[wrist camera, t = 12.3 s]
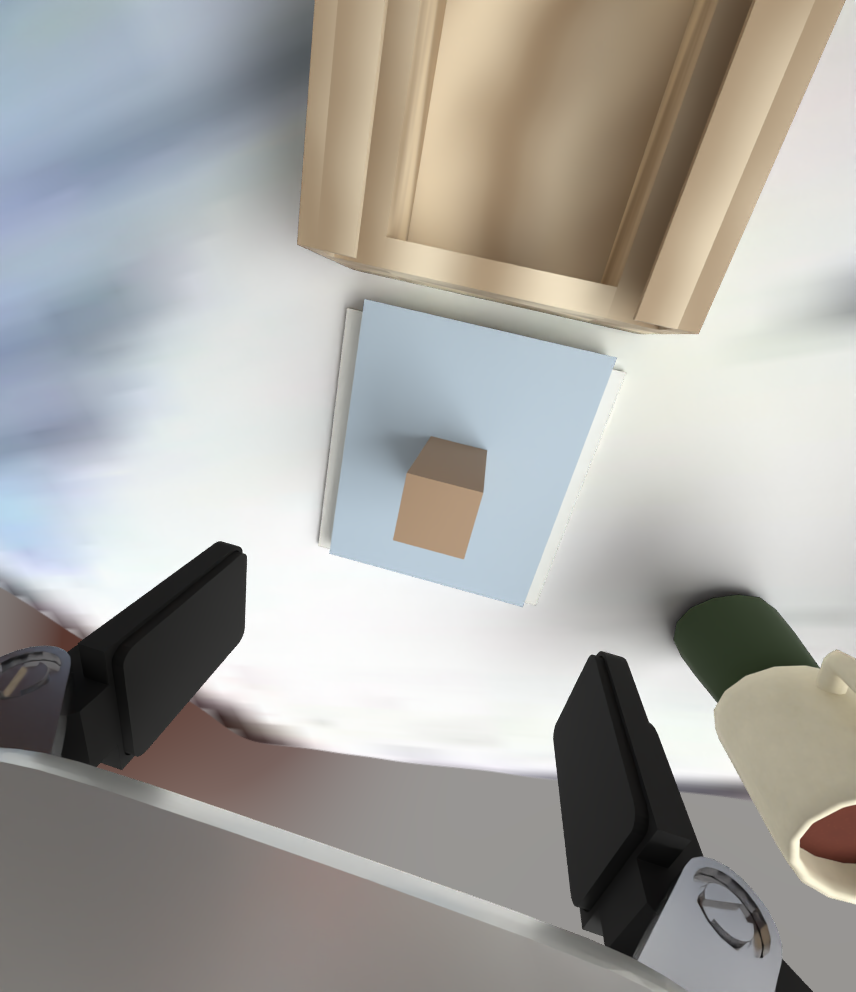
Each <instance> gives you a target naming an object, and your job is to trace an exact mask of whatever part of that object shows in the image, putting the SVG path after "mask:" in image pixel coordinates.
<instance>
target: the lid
mask: <svg viewBox="0 0 856 992" xmlns="http://www.w3.org/2000/svg"><path fill="white" fill-rule="evenodd" d="M616 359H617V358H616V357H612V356H607V355H603V354H599V353H594V352H590V351H586V350H582V349H577V348H573V347H569V346H564V345H560V344H556V343H552V342H547V341H543V340H539V339H534V338H530V337H526V336H521V335H517V334H513V333H509V332H504V331H500V330H496V329H491V328H487V327H483V326H478V325H474V324H470V323H466V322H461V321H457V320H453V319H448V318H444V317H440V316H436V315H431V314H427V313H423V312H418V311H414V310H410V309H405V308H401V307H397V306H393V305H388V304H384V303H380V302H375V301H371V300H367V299H364V306H363V314H362V321H361V328H360V335H359V343H358V350H357V357H356V364H355V372H354V379H353V386H352V394H351V401H350V408H349V415H348V423H347V430H346V437H345V444H344V452H343V459H342V466H341V473H340V481H339V488H338V495H337V502H336V510H335V517H334V524H333V531H332V539H331V546H330V553H329V554H333V555H336V556H340V557H344V558H347V559H351V560H354V561H358V562H362V563H365V564H369V565H373V566H376V567H380V568H383V569H387V570H391V571H394V572H398V573H401V574H405V575H409V576H412V577H416V578H420V579H423V580H427V581H430V582H434V583H438V584H441V585H445V586H448V587H452V588H456V589H459V590H463V591H466V592H470V593H474V594H477V595H481V596H485V597H488V598H492V599H495V600H499V601H503V602H506V603H510V604H513V605H517V606H521V607H523V605H524V602H525V600H526V597H527V594H528V592H529V589H530V586H531V584H532V581H533V579H534V576H535V573H536V571H537V568H538V565H539V563H540V560H541V557H542V555H543V552H544V549H545V547H546V544H547V542H548V539H549V536H550V534H551V531H552V528H553V526H554V523H555V520H556V518H557V515H558V512H559V510H560V507H561V504H562V502H563V499H564V497H565V494H566V491H567V489H568V486H569V483H570V481H571V478H572V475H573V473H574V470H575V467H576V465H577V462H578V459H579V457H580V454H581V452H582V449H583V446H584V444H585V441H586V438H587V436H588V433H589V430H590V428H591V425H592V422H593V420H594V417H595V415H596V412H597V409H598V407H599V404H600V401H601V399H602V396H603V393H604V391H605V388H606V385H607V383H608V380H609V377H610V375H611V372H612V370H613V367H614V364H615V362H616Z"/></svg>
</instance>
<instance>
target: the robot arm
mask: <svg viewBox="0 0 856 992" xmlns="http://www.w3.org/2000/svg"><path fill="white" fill-rule="evenodd" d="M246 572H247V556H246V554H244V553H243V552H242V549H241V547H239V546H236V545H232V544H229V543H225V542H222V541H218V542H216V543H215V544H213V545H212V546H211V547H209V548H208V549H206V550H205V551H204V552H202V553H201V554H200V555H198V556H197V557H195V558H194V559H193V560H191V561H190V562H189V563H187V564H186V565H185V566H183V567H182V568H180V569H179V570H178V571H176V572H175V573H174V574H172V575H171V576H169V577H168V578H167V579H165V580H164V581H163V582H161V583H160V584H158V585H157V586H156V587H154V588H153V589H152V590H150V591H149V592H148V593H146V594H145V595H143V596H142V597H141V598H139V599H138V600H137V601H135V602H134V603H132V604H131V605H130V606H128V607H127V608H126V609H124V610H123V611H121V612H120V613H119V614H117V615H116V616H115V617H113V618H112V619H111V620H109V621H108V622H106V623H105V624H104V625H102V626H101V627H100V628H98V629H97V630H95V631H94V632H93V633H91V634H90V635H89V636H87V637H86V638H85V639H83V640H82V641H80V642H79V643H78V645H77V646H75V647H74V648H72V649H71V650H70V651H68V652H66V651H65V650H63V649H60V648H58V647H52V646H36V647H29V648H25V649H21V650H17V651H14V652H11V653H9V654H6V655H4V656H1V657H0V992H813V991H812V990H811V989H810V988H809V987H808V986H807V985H806V984H805V983H804V982H803V981H802V980H801V978H800V977H799V976H798V975H797V974H796V973H795V972H794V971H793V970H792V969H791V968H790V967H789V966H788V965H787V964H786V963H785V961H784V960H783V959H782V944H781V940H780V936H779V933H778V930H777V927H776V925H775V923H774V921H773V919H772V917H771V915H770V913H769V911H768V910H767V908H766V907H765V905H764V904H763V902H762V901H761V900H760V898H759V897H758V896H757V894H756V893H755V892H754V891H753V890H752V888H751V887H750V886H749V885H748V884H747V883H746V882H745V881H744V880H743V879H742V878H741V877H740V876H739V875H737V874H736V873H735V872H734V871H732V870H731V869H730V868H729V867H727V866H725V865H724V864H722V863H720V862H718V861H716V860H714V859H711V858H706V857H703V854H702V851H701V849H700V846H699V843H698V841H697V838H696V835H695V833H694V830H693V827H692V825H691V822H690V819H689V817H688V814H687V811H686V809H685V806H684V803H683V801H682V798H681V795H680V792H679V790H678V787H677V784H676V782H675V779H674V776H673V774H672V771H671V768H670V766H669V763H668V760H667V758H666V755H665V752H664V750H663V747H662V744H661V742H660V739H659V736H658V734H657V732H656V730H655V728H654V726H653V725H652V724H651V723H649V721H648V718H647V716H646V713H645V710H644V707H643V705H642V702H641V699H640V696H639V694H638V691H637V688H636V685H635V682H634V680H633V677H632V674H631V671H630V669H629V666H628V663H627V661H626V659H625V658H623V657H620V656H616V655H613V654H610V653H606V652H603V651H600V652H599V653H598V654H597V655H596V656H595V655H590V656H589V658H588V660H587V662H586V664H585V666H584V668H583V670H582V672H581V674H580V676H579V678H578V680H577V682H576V684H575V686H574V688H573V690H572V692H571V694H570V696H569V698H568V701H567V703H566V705H565V707H564V709H563V711H562V713H561V715H560V717H559V719H558V721H557V723H556V725H555V729H554V735H553V741H554V750H555V759H556V768H557V777H558V785H559V794H560V803H561V812H562V821H563V829H564V838H565V847H566V856H567V865H568V874H569V882H570V891H571V898H572V901H573V904H574V905H575V906H576V907H579V908H580V914H581V922H582V929H583V930H586V931H589V932H592V933H595V934H598V935H601V936H603V937H604V944H605V946H604V945H602V944H599V943H597V942H595V941H593V940H590V939H588V938H586V937H583V936H580V935H577V934H575V933H572V932H570V931H567V930H564V929H561V928H559V927H556V926H553V925H551V924H548V923H546V922H543V921H540V920H538V919H535V918H532V917H529V916H527V915H524V914H521V913H519V912H516V911H513V910H511V909H508V908H505V907H502V906H499V905H497V904H494V903H491V902H488V901H485V900H483V899H480V898H477V897H474V896H471V895H468V894H465V893H463V892H460V891H457V890H454V889H452V888H449V887H446V886H443V885H440V884H437V883H435V882H432V881H429V880H426V879H423V878H420V877H417V876H414V875H412V874H409V873H406V872H403V871H401V870H398V869H395V868H392V867H389V866H386V865H383V864H381V863H378V862H375V861H372V860H369V859H366V858H363V857H360V856H358V855H355V854H352V853H349V852H346V851H343V850H340V849H337V848H335V847H332V846H329V845H326V844H323V843H320V842H317V841H314V840H311V839H309V838H306V837H303V836H300V835H297V834H294V833H291V832H288V831H285V830H282V829H280V828H277V827H274V826H271V825H268V824H265V823H262V822H259V821H256V820H254V819H251V818H248V817H245V816H242V815H239V814H236V813H233V812H230V811H227V810H224V809H221V808H218V807H215V806H212V805H209V804H206V803H204V802H200V801H197V800H195V799H191V798H189V797H186V796H183V795H180V794H177V793H174V792H171V791H168V790H165V789H162V788H159V787H156V786H153V785H150V784H148V783H144V782H141V781H138V780H135V779H132V778H128V777H125V776H122V775H119V774H116V773H113V772H110V771H107V770H103V769H100V768H97V766H98V765H99V764H100V763H103V764H106V765H109V766H112V767H115V768H117V769H120V770H122V769H123V768H124V767H125V766H126V765H127V764H128V763H129V762H130V760H131V759H132V758H133V757H134V756H137V757H138V756H141V755H142V754H143V753H144V752H145V751H146V750H147V749H148V748H149V747H150V746H151V745H152V744H153V742H154V741H155V740H156V739H157V738H158V737H159V735H160V734H161V733H162V732H163V731H164V730H165V728H166V727H167V726H168V725H169V724H170V723H171V721H172V720H173V719H174V718H175V717H176V716H177V714H178V713H179V712H180V711H181V710H182V709H183V707H184V706H185V705H186V704H187V703H188V702H189V700H190V699H191V698H192V697H193V696H194V695H195V693H196V692H197V691H198V690H199V689H200V688H201V686H202V685H203V684H204V683H205V682H206V681H207V679H208V678H209V677H210V676H211V675H212V674H213V672H214V671H215V670H216V669H217V668H218V667H219V665H220V664H221V663H222V662H223V661H224V660H225V658H226V657H227V656H228V655H229V654H230V653H231V651H232V650H233V649H234V648H235V647H236V646H237V644H238V643H239V642H240V640H241V639H242V636H243V634H244V629H245V602H246Z"/></svg>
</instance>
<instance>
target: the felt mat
mask: <svg viewBox="0 0 856 992" xmlns="http://www.w3.org/2000/svg"><path fill="white" fill-rule="evenodd" d="M362 314H363V311H358V310H354V309H350V308H347V312H346V320H345V329H344V337H343V345H342V353H341V362H340V370H339V378H338V387H337V395H336V403H335V411H334V420H333V428H332V436H331V444H330V453H329V461H328V469H327V478H326V486H325V494H324V502H323V511H322V519H321V527H320V536H319V544H318V546H320V547H323V548H327V549H330V546H331V539H332V531H333V524H334V517H335V510H336V502H337V495H338V488H339V481H340V473H341V466H342V459H343V452H344V444H345V437H346V430H347V423H348V415H349V408H350V401H351V394H352V386H353V379H354V372H355V364H356V357H357V350H358V343H359V335H360V328H361V321H362ZM625 375H626V372H622V371H617V370H612V372H611V375H610V377H609V380H608V383H607V385H606V388H605V391H604V393H603V396H602V399H601V401H600V404H599V407H598V409H597V412H596V415H595V417H594V420H593V422H592V425H591V428H590V430H589V433H588V436H587V438H586V441H585V444H584V446H583V449H582V452H581V454H580V457H579V459H578V462H577V465H576V467H575V470H574V473H573V475H572V478H571V481H570V483H569V486H568V489H567V491H566V494H565V497H564V499H563V502H562V504H561V507H560V510H559V512H558V515H557V518H556V520H555V523H554V526H553V528H552V531H551V534H550V536H549V539H548V542H547V544H546V547H545V549H544V552H543V555H542V557H541V560H540V563H539V565H538V568H537V571H536V573H535V576H534V579H533V581H532V584H531V586H530V589H529V592H528V594H527V597H526V600H525V603H528V604H532V605H536V604H537V601H538V599H539V596H540V594H541V591H542V588H543V586H544V583H545V581H546V578H547V576H548V573H549V570H550V568H551V565H552V563H553V560H554V558H555V555H556V552H557V550H558V547H559V545H560V542H561V540H562V537H563V534H564V532H565V529H566V527H567V524H568V522H569V519H570V516H571V514H572V511H573V509H574V506H575V504H576V501H577V498H578V496H579V493H580V491H581V488H582V486H583V483H584V480H585V478H586V475H587V473H588V470H589V468H590V465H591V462H592V460H593V457H594V455H595V452H596V450H597V447H598V444H599V442H600V439H601V437H602V434H603V432H604V429H605V426H606V424H607V421H608V419H609V416H610V414H611V411H612V408H613V406H614V403H615V401H616V398H617V396H618V393H619V390H620V388H621V385H622V383H623V380H624V378H625Z"/></svg>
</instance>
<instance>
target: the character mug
mask: <svg viewBox="0 0 856 992" xmlns="http://www.w3.org/2000/svg"><path fill="white" fill-rule="evenodd" d="M674 642H675V644H676V646H677V648H678V650H679V653H680V655H681V657H682V658H683V660H684V661H685V662H686V664H687V665H688V666H689V668H690V669H691V670H692V672H693V673H694V675H695V676H696V677H697V678H698V680H699V681H700V682H701V683H702V685H703V686H704V687H705V688H706V689H707V691H708V692H709V693H710V694H711V696H712V697H713V698H714V699H715V701H716V702H717V703H718V704H717V705H716V707H715V709H714V719H715V729H716V732H717V735H718V738H719V740H720V742H721V744H722V745H723V747H724V749H725V751H726V753H727V755H728V756H729V758H730V760H731V762H732V764H733V766H734V767H735V769H736V771H737V773H738V775H739V777H740V778H741V780H742V782H743V784H744V786H745V788H746V789H747V791H748V793H749V795H750V797H751V799H752V800H753V802H754V804H755V806H756V808H757V809H758V811H759V813H760V815H761V817H762V819H763V821H764V822H765V824H766V826H767V828H768V830H769V832H770V833H771V835H772V837H773V839H774V841H775V842H776V844H777V846H778V848H779V849H780V851H781V853H782V854H783V856H784V857H785V859H786V860H787V862H788V864H789V865H790V866H791V868H792V869H793V871H794V872H795V873H796V875H797V876H798V877H799V879H800V880H801V881H802V882H803V883H805V884H806V885H808V886H810V887H812V888H814V889H815V890H817V891H819V892H820V893H822V894H824V895H826V896H827V897H829V898H833V899H837V900H841V901H845V902H849V903H853V904H856V659H855V658H854V657H852V656H850V655H848V654H846V653H843V652H841V651H839V650H835V651H832V652H830V653H829V654H828V655H827V656H826V657H825V658H824V659H823V662H822V665H821V668H819V666H818V665H817V663H816V662H815V660H814V659H813V658H812V656H811V655H810V653H809V652H808V651H807V649H806V648H805V646H804V645H803V644H802V642H801V641H800V639H799V638H798V637H797V635H796V634H795V632H794V631H793V630H792V629H791V627H790V626H789V625H788V624H787V623H786V621H785V620H784V619H783V618H782V616H781V615H780V614H779V613H778V612H777V610H776V609H774V608H773V607H772V606H770V605H769V604H768V603H766V602H765V601H764V600H762V599H761V598H760V597H752V596H744V595H733V596H726V597H718V598H712V599H710V600H708V601H706V602H703V603H701V604H699V605H696V606H694V607H692V608H690V609H689V610H688V611H687V612H686V613H685V614H684V616H683V617H682V618H681V619H680V620H679V621H678V622H677V624H676V629H675V635H674Z"/></svg>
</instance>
